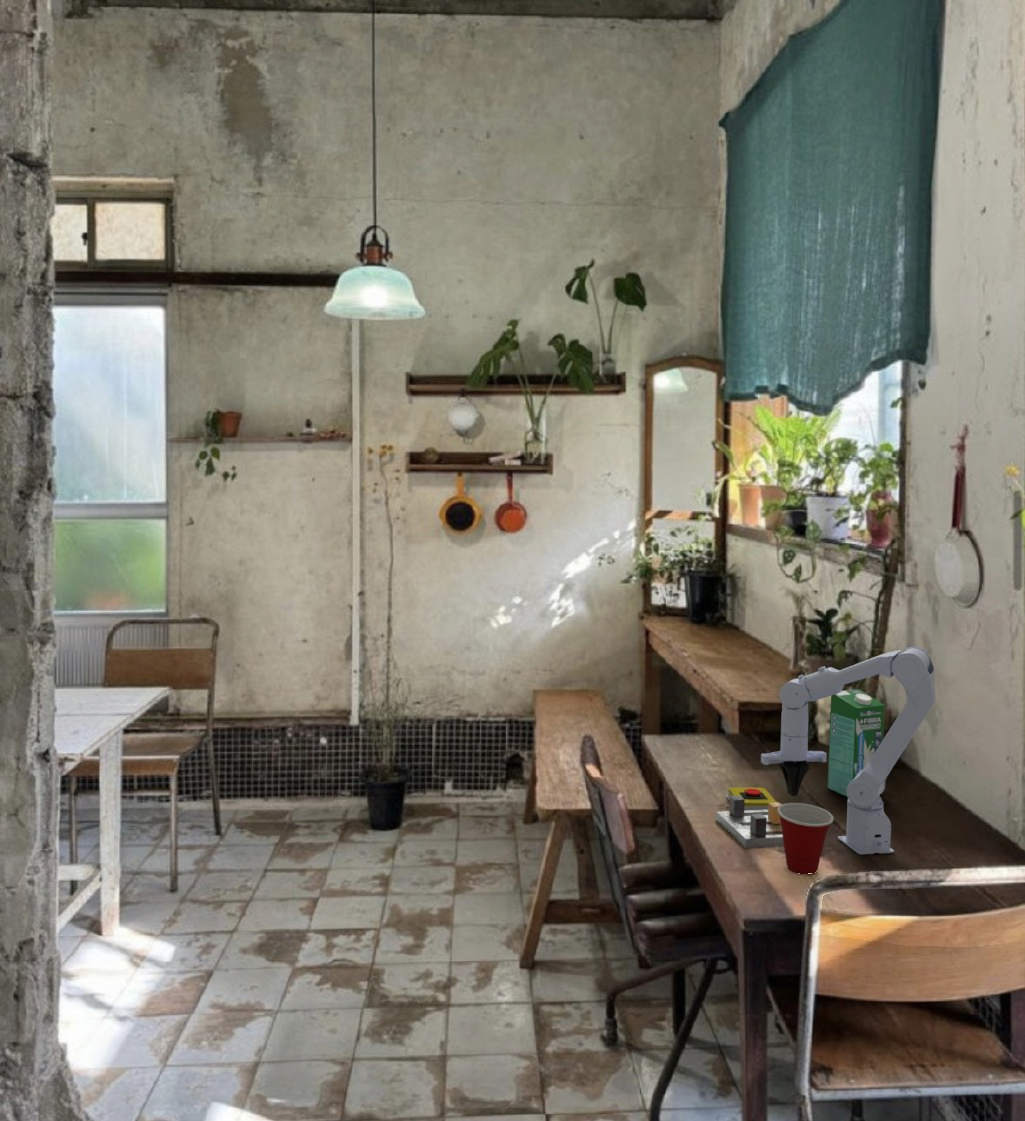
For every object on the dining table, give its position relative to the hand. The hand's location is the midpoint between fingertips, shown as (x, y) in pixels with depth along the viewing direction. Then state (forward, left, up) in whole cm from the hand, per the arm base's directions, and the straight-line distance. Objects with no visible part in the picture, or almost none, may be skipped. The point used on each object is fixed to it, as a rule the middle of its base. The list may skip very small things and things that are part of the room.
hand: (792, 794), depth 217 cm
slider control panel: (0, +7, -8) cm, 11 cm away
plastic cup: (-21, +7, -9) cm, 24 cm away
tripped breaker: (0, +4, -6) cm, 7 cm away
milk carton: (+24, -28, -9) cm, 38 cm away
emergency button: (+18, +2, -9) cm, 20 cm away
